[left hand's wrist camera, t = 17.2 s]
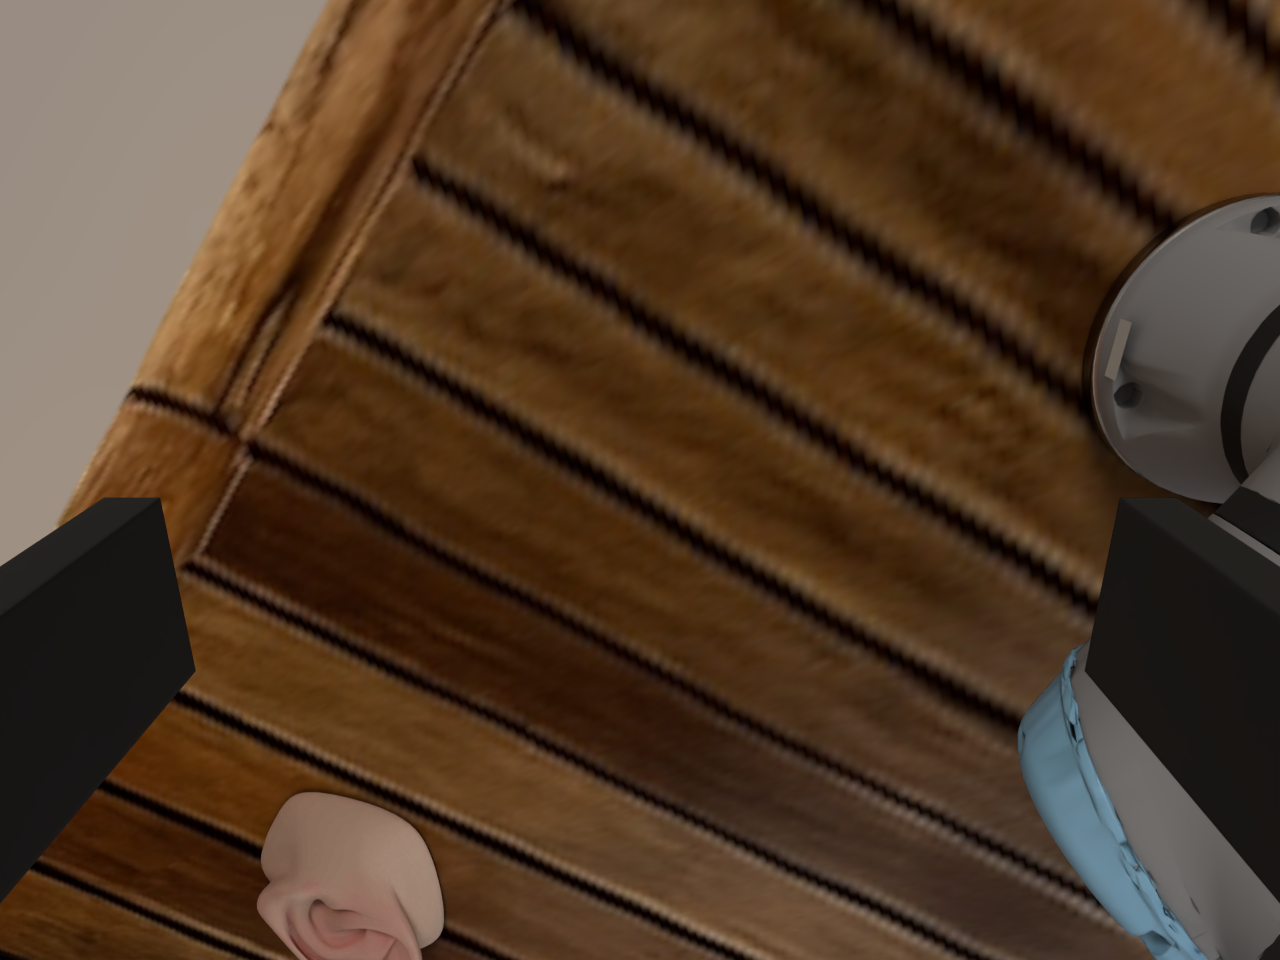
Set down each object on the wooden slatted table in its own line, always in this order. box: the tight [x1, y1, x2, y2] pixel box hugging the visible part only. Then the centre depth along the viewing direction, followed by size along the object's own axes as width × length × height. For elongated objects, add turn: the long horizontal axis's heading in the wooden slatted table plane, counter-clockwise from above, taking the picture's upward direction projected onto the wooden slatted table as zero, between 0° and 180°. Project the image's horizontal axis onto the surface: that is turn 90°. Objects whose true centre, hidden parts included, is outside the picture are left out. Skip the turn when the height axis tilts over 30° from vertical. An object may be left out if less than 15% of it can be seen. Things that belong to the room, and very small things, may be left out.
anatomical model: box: [257, 792, 444, 960], centre depth 56 cm, size 13×4×12 cm
